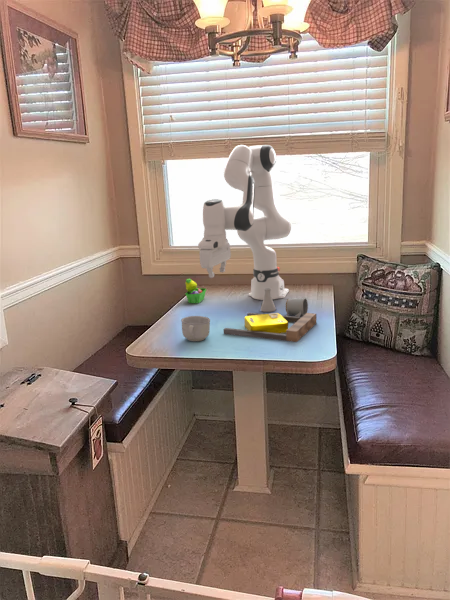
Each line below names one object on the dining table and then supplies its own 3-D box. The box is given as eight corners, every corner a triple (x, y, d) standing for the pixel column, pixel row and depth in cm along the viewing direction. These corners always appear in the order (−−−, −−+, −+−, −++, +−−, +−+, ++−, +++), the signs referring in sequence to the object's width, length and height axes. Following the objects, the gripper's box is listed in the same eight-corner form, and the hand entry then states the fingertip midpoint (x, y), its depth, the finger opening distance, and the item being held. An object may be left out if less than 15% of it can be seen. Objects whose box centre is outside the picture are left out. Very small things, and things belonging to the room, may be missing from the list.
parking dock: (248, 316, 221) (248, 308, 220) (316, 323, 207) (316, 313, 206) (223, 333, 201) (223, 324, 200) (296, 342, 187) (296, 331, 186)
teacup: (190, 333, 203) (188, 314, 201) (215, 335, 199) (214, 315, 197) (174, 345, 191) (172, 324, 189) (200, 347, 187) (199, 326, 185)
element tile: (243, 326, 210) (243, 314, 209) (279, 322, 213) (279, 311, 211) (251, 337, 196) (251, 325, 195) (289, 333, 198) (289, 321, 197)
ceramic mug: (290, 311, 225) (289, 295, 223) (308, 313, 222) (307, 296, 220) (282, 319, 216) (281, 301, 214) (301, 320, 212) (300, 302, 210)
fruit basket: (200, 304, 246) (198, 281, 243) (183, 303, 248) (181, 281, 245) (207, 298, 257) (206, 276, 254) (190, 297, 259) (189, 276, 256)
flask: (275, 312, 225) (274, 290, 223) (259, 312, 227) (258, 290, 224) (277, 308, 232) (276, 286, 230) (261, 308, 234) (260, 286, 231)
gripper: (220, 236, 216) (222, 268, 219) (195, 245, 198) (198, 279, 202) (233, 236, 213) (235, 269, 217) (210, 245, 195) (212, 281, 199)
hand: (217, 274), depth 209 cm, fingers open, 8 cm apart
